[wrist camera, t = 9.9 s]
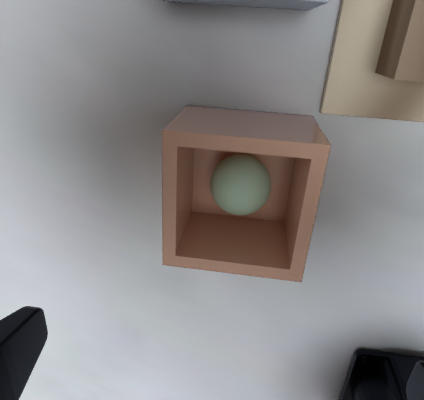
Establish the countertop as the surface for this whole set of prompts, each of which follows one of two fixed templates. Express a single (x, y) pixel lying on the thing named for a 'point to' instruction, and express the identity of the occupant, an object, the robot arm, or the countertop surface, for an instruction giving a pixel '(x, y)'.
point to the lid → (377, 61)
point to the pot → (251, 223)
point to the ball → (240, 184)
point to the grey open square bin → (262, 3)
